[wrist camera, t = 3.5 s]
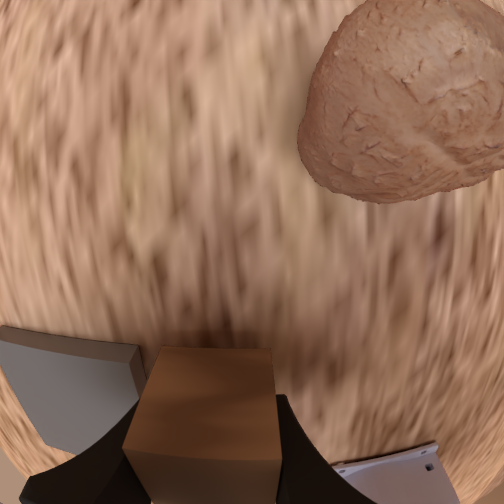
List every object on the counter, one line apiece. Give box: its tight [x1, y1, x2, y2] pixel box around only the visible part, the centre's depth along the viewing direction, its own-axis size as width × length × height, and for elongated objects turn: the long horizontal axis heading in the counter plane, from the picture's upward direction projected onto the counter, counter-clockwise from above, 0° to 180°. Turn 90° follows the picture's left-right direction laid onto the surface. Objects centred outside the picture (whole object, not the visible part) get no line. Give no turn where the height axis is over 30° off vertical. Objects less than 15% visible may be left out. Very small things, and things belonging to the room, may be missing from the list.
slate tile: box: [0, 326, 147, 455], centre depth 14 cm, size 10×10×2 cm
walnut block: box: [122, 346, 282, 504], centre depth 10 cm, size 4×4×6 cm
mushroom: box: [297, 0, 504, 204], centre depth 7 cm, size 8×6×8 cm
